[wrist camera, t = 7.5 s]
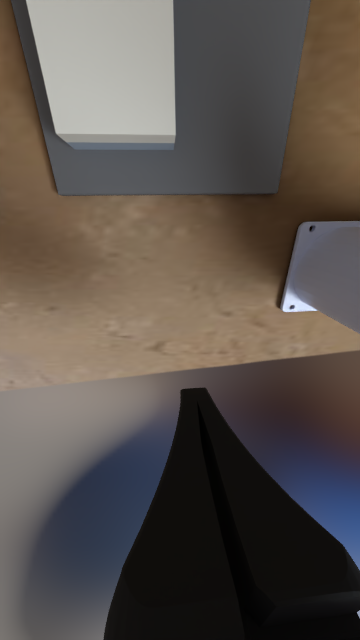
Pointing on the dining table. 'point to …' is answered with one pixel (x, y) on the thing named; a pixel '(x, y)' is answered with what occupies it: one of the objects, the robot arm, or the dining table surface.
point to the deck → (108, 71)
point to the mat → (199, 105)
